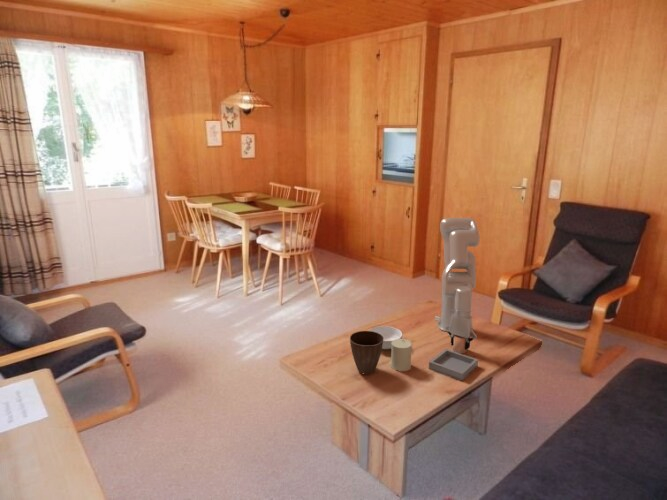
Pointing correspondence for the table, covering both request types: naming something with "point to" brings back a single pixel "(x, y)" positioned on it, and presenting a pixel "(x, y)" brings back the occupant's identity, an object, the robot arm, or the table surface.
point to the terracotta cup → (459, 344)
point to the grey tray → (453, 364)
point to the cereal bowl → (387, 335)
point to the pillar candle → (401, 354)
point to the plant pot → (366, 350)
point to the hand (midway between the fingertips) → (460, 346)
